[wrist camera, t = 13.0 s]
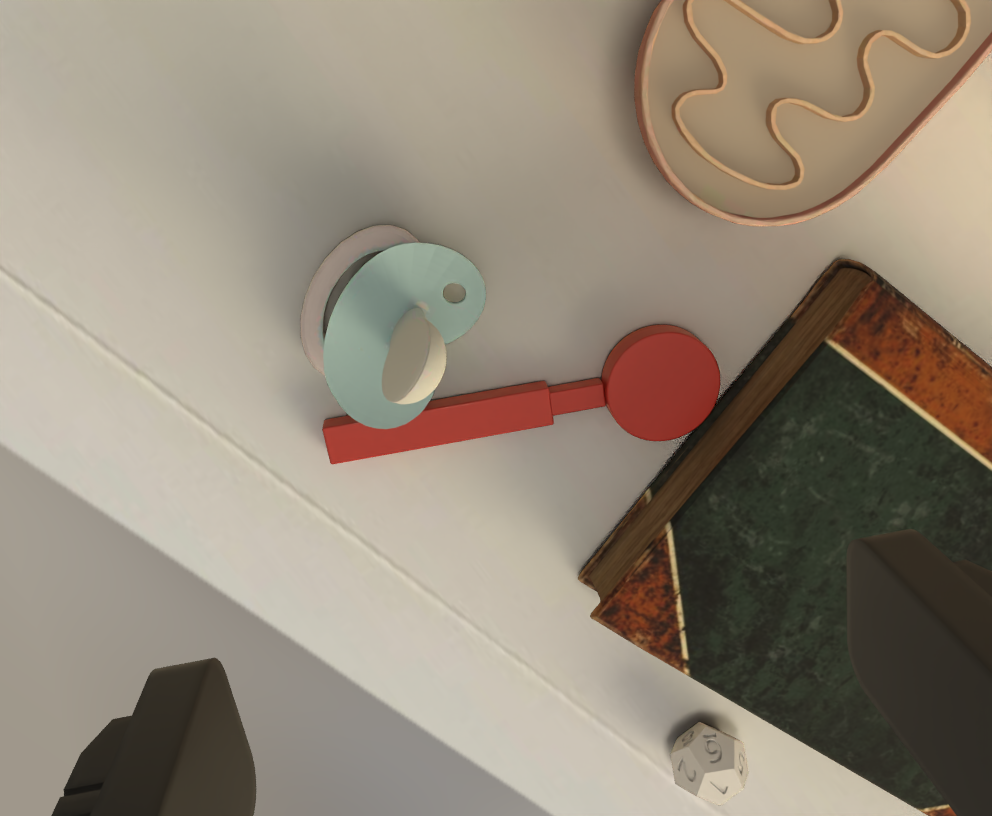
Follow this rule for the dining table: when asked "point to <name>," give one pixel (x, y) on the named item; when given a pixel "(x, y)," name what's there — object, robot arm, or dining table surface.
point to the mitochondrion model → (795, 95)
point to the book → (808, 516)
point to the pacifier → (388, 323)
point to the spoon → (562, 401)
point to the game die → (709, 763)
